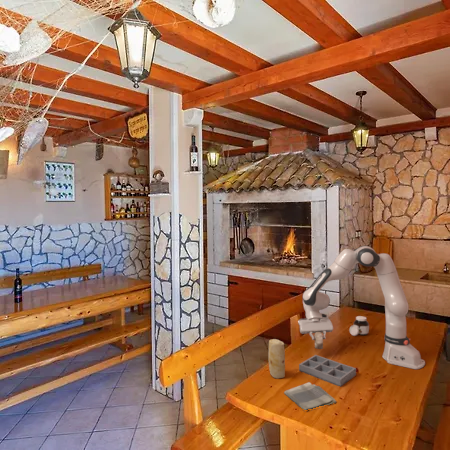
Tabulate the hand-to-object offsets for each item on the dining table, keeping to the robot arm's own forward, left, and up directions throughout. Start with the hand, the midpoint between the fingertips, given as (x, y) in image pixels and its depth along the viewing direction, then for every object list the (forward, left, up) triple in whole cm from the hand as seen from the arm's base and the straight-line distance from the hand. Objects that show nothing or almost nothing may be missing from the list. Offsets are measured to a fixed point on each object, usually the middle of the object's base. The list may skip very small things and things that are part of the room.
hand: (319, 339), depth 217 cm
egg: (0, 0, -5) cm, 5 cm away
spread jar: (0, -52, -12) cm, 54 cm away
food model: (+5, +36, -12) cm, 38 cm away
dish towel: (-20, +42, -12) cm, 48 cm away
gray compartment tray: (-13, +14, -12) cm, 22 cm away
